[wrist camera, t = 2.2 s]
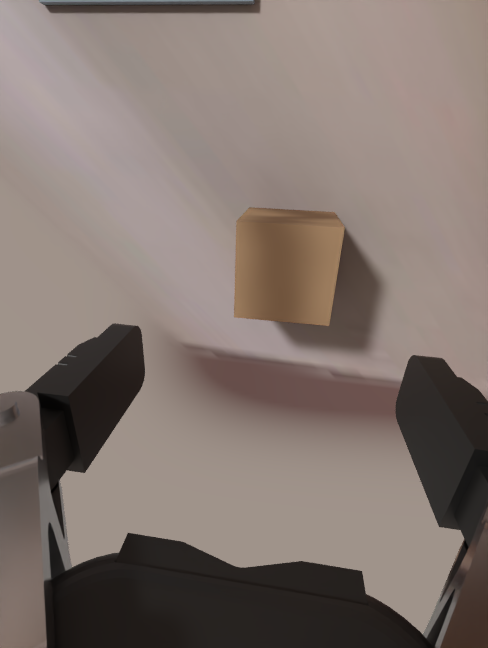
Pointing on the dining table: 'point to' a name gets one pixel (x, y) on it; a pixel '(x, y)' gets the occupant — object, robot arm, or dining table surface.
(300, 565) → the robot arm
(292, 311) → the walnut block
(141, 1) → the slate mat
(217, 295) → the dining table surface
